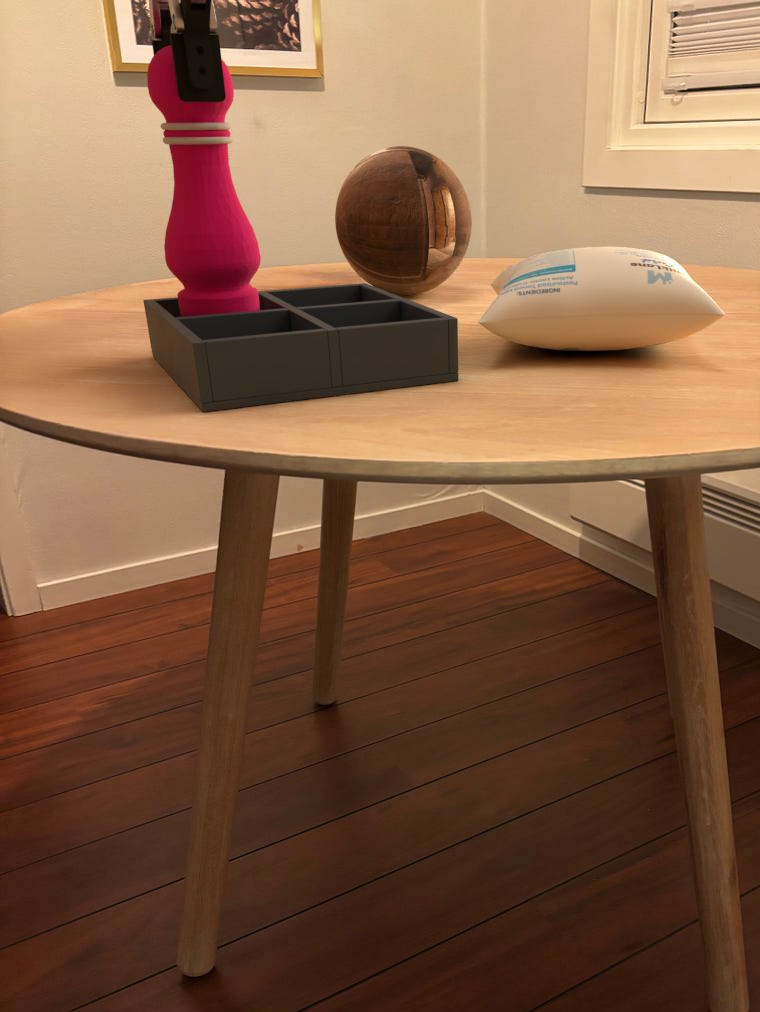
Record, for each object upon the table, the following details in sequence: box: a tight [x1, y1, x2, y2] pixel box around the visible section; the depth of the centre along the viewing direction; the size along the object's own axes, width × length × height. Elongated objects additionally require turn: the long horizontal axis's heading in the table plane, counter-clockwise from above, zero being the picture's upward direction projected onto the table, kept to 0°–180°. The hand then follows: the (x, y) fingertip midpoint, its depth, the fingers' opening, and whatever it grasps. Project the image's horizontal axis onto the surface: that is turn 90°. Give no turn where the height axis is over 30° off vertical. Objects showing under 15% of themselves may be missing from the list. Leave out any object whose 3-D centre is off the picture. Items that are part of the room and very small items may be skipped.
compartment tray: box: [143, 282, 460, 413], centre depth 75 cm, size 19×19×5 cm
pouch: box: [477, 246, 726, 352], centre depth 82 cm, size 8×19×20 cm
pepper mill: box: [146, 23, 262, 317], centre depth 71 cm, size 7×7×20 cm
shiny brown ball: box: [334, 145, 473, 296], centre depth 104 cm, size 15×15×15 cm
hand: (192, 99), depth 69 cm, fingers closed on pepper mill, 6 cm apart
